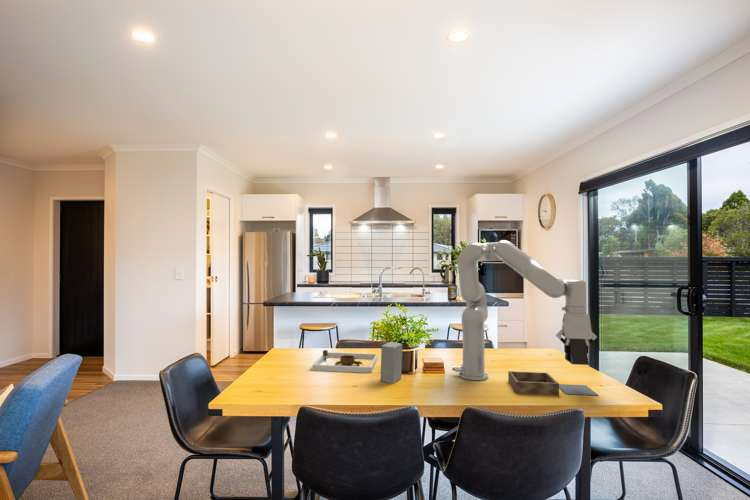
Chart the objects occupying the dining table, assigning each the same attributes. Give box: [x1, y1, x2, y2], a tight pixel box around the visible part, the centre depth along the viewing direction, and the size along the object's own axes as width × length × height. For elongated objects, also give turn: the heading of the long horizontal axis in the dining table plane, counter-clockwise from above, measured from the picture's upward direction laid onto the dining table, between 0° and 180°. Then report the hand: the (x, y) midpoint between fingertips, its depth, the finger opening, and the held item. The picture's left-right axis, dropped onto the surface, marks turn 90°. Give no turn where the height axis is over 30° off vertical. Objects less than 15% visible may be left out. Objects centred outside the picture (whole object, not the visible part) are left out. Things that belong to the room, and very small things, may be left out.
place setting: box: [322, 349, 364, 366], centre depth 199 cm, size 18×20×6 cm
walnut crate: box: [507, 370, 560, 396], centre depth 163 cm, size 16×15×4 cm
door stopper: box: [564, 339, 590, 366], centre depth 161 cm, size 9×6×12 cm, turn 172°
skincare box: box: [380, 341, 403, 385], centre depth 172 cm, size 8×7×16 cm
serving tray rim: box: [312, 351, 379, 374], centre depth 197 cm, size 28×26×2 cm
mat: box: [559, 383, 599, 397], centre depth 161 cm, size 12×12×1 cm
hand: (576, 354), depth 161 cm, fingers closed on door stopper, 6 cm apart
